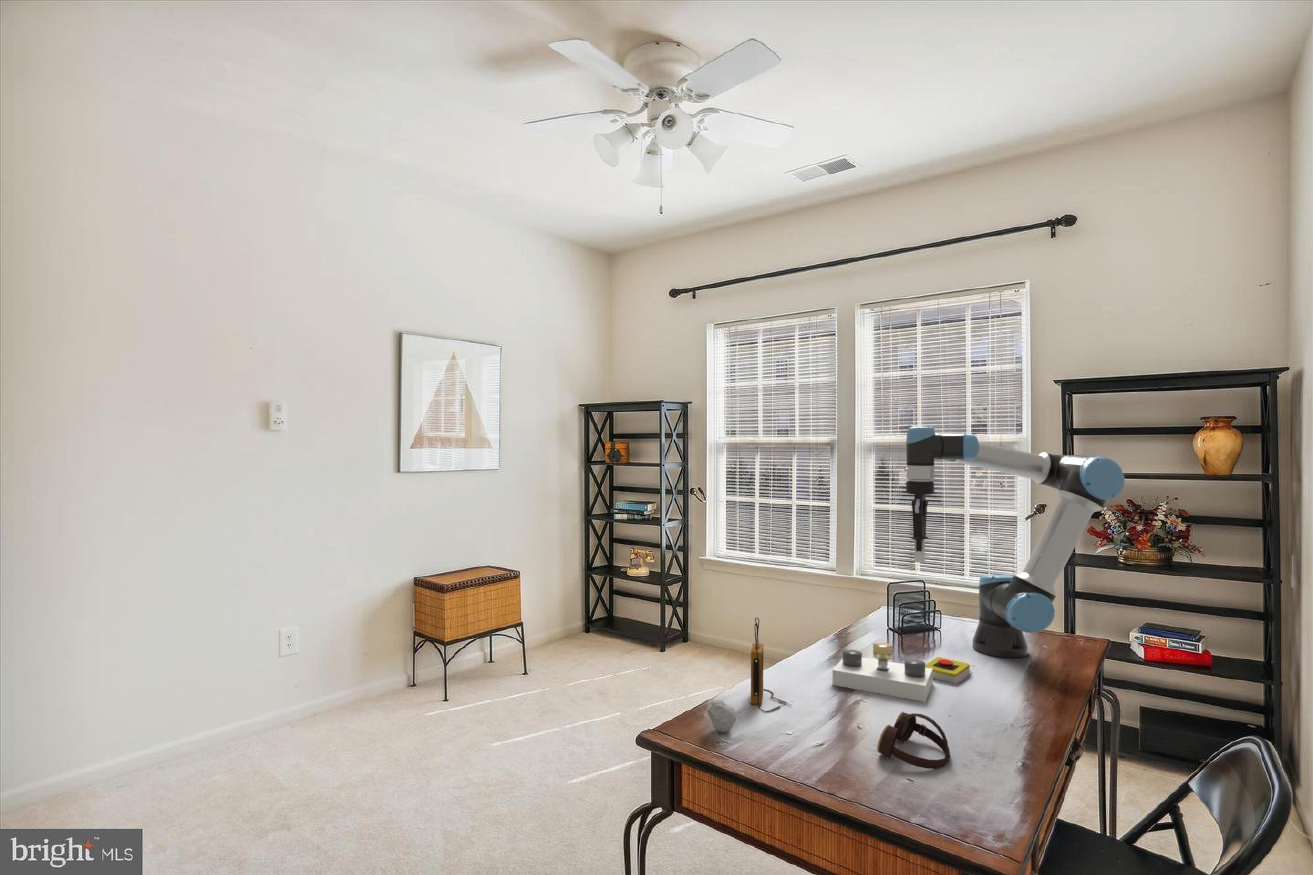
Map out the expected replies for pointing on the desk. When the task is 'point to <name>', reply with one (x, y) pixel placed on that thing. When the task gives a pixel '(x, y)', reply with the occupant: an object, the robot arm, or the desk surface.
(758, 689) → the multimeter
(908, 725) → the goggles
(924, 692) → the mount plate
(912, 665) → the knob near
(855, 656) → the knob far
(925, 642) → the desk surface
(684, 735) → the desk surface
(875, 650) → the knob middle
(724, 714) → the crumpled paper ball
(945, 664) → the emergency button
